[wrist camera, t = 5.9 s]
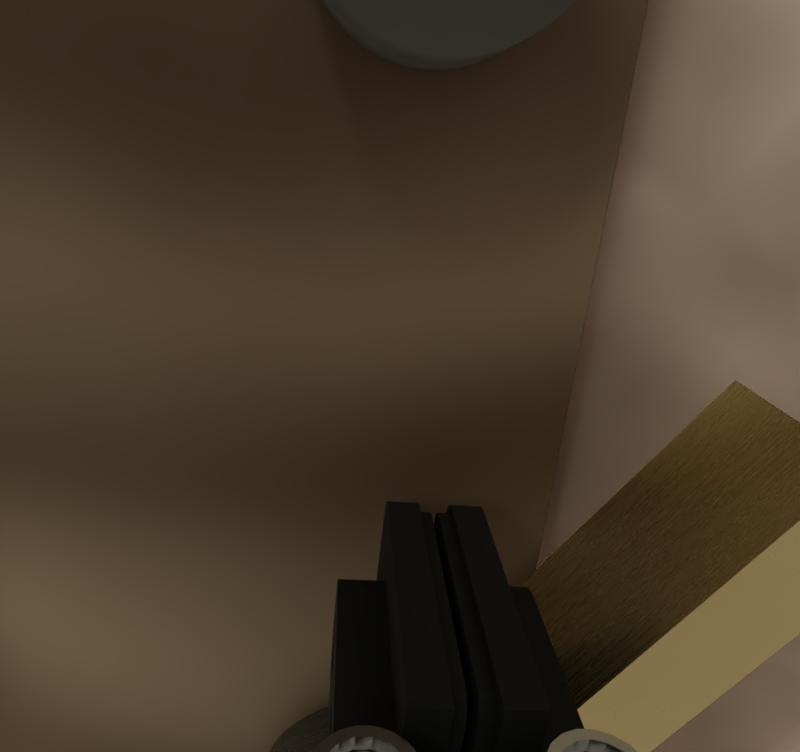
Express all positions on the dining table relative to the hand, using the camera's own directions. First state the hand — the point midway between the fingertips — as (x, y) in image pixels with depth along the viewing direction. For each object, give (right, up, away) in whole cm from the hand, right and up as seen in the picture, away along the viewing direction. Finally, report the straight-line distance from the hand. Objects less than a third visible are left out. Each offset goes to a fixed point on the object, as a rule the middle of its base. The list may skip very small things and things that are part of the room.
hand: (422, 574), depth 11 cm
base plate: (-6, +3, +1) cm, 7 cm away
